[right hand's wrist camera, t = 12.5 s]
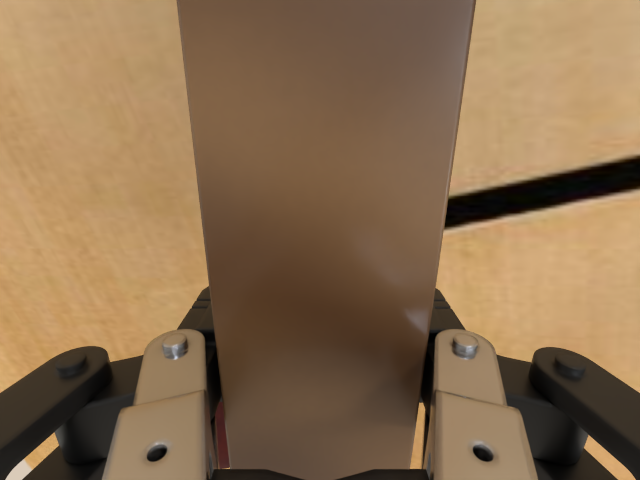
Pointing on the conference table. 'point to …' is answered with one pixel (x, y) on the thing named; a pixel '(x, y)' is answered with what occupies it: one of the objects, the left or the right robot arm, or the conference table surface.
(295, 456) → the post
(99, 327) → the conference table surface
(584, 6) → the conference table surface
